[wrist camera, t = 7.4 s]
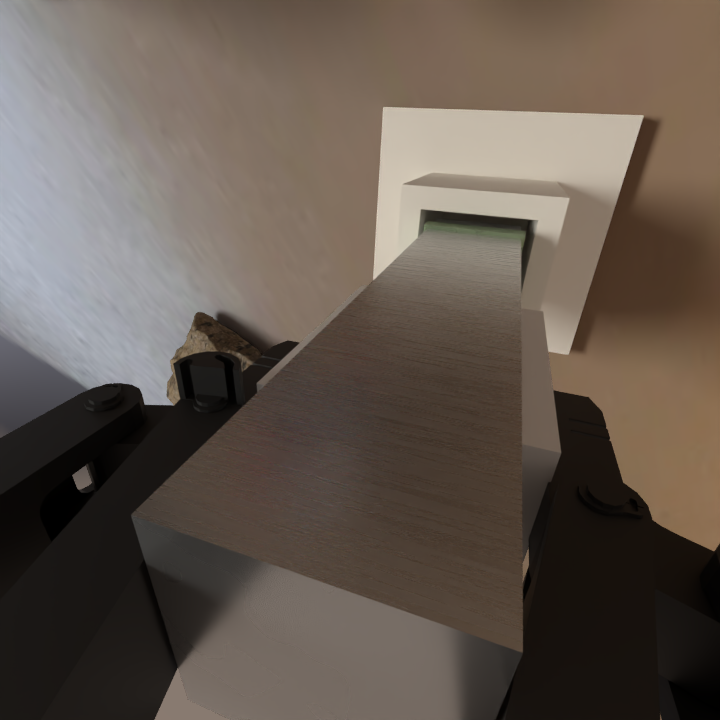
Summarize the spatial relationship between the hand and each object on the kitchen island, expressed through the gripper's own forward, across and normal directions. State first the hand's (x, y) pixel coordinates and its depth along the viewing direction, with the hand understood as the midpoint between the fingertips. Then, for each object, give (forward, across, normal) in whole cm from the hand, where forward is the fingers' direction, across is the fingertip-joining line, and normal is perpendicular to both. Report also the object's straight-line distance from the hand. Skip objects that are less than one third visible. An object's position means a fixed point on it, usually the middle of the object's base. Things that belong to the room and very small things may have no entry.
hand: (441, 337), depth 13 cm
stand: (+17, 0, 0) cm, 17 cm away
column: (+10, 0, 0) cm, 10 cm away
